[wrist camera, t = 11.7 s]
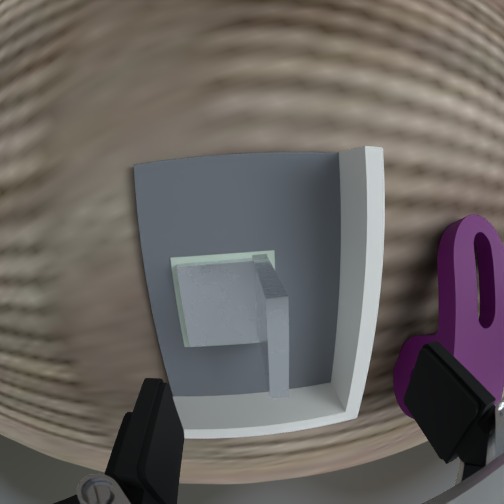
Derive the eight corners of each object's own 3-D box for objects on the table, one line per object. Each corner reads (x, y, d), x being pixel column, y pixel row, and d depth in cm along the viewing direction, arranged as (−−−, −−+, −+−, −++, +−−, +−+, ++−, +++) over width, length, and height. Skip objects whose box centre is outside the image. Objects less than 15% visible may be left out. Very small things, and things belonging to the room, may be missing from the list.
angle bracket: (267, 256, 19) (288, 296, 12) (271, 334, 20) (288, 396, 14) (178, 263, 19) (152, 306, 12) (191, 340, 20) (177, 404, 13)
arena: (136, 165, 17) (110, 160, 13) (350, 154, 18) (382, 147, 14) (176, 401, 22) (170, 437, 18) (339, 385, 23) (356, 418, 19)
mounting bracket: (394, 234, 26) (389, 407, 22) (446, 206, 18) (441, 430, 14) (452, 242, 27) (449, 391, 23) (501, 222, 19) (500, 402, 15)
